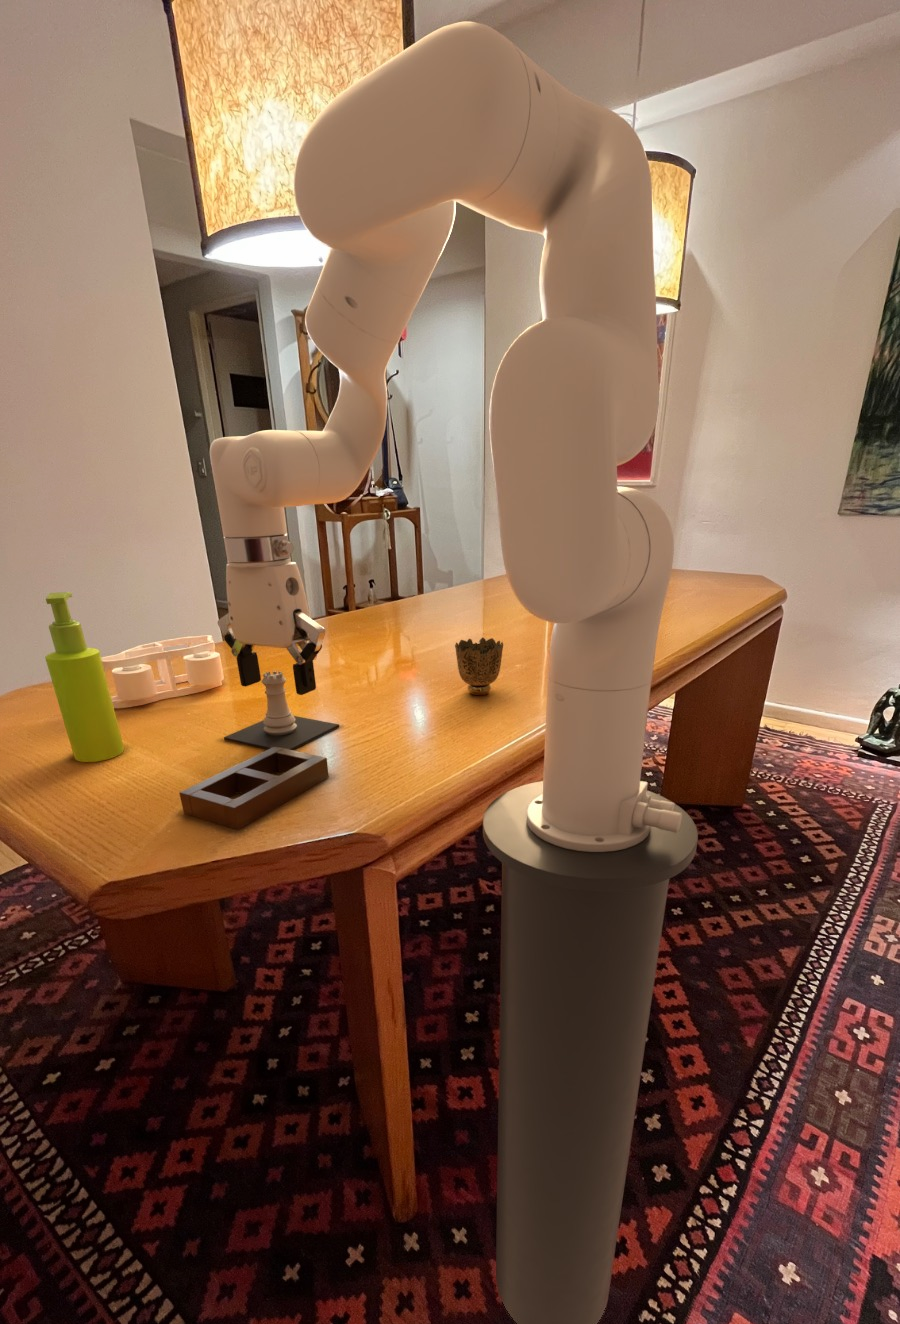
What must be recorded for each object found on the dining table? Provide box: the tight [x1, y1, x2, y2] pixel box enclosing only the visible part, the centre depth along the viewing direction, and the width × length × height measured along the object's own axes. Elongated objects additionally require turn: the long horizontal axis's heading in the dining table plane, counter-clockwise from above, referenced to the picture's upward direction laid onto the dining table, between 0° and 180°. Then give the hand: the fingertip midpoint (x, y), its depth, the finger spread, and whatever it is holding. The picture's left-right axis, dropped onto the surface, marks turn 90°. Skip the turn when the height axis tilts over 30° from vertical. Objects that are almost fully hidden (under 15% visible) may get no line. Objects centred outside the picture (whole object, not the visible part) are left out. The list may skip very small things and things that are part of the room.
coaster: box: [223, 715, 340, 751], centre depth 92 cm, size 11×11×1 cm
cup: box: [454, 637, 504, 696], centre depth 105 cm, size 8×7×8 cm
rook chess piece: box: [260, 670, 297, 735], centre depth 91 cm, size 4×4×8 cm
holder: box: [179, 747, 330, 831], centre depth 75 cm, size 8×14×2 cm, turn 151°
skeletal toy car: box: [101, 634, 225, 709], centre depth 109 cm, size 20×11×7 cm, turn 131°
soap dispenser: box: [44, 591, 125, 763], centre depth 83 cm, size 6×7×20 cm
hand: (278, 687), depth 89 cm, fingers open, 9 cm apart
